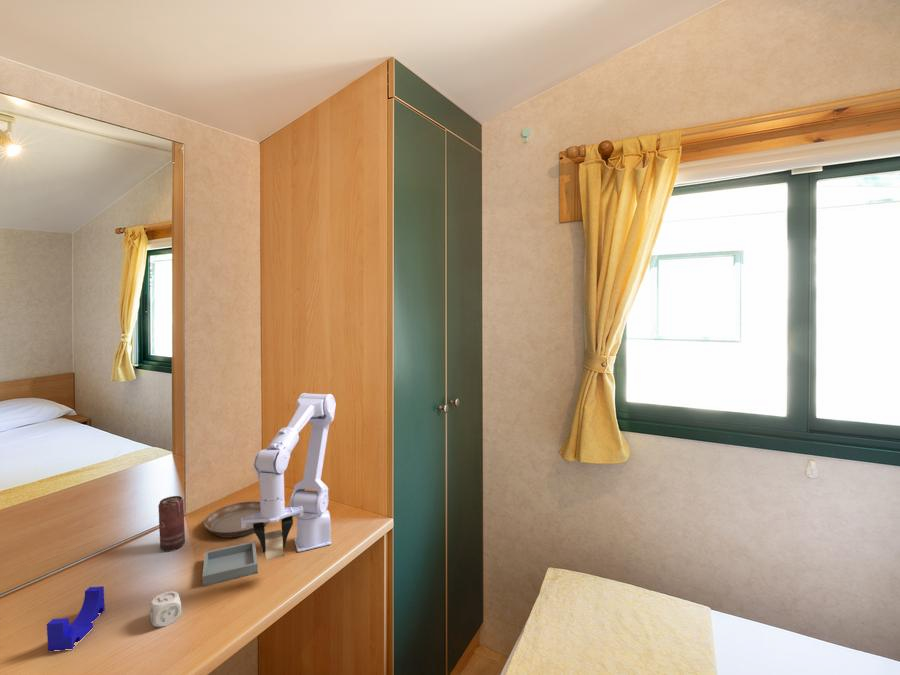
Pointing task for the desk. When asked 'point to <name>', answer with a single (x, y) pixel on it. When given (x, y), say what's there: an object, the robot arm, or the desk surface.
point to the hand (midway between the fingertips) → (273, 548)
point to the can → (171, 523)
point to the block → (273, 544)
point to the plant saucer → (232, 519)
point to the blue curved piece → (76, 622)
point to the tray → (229, 563)
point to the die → (165, 609)
